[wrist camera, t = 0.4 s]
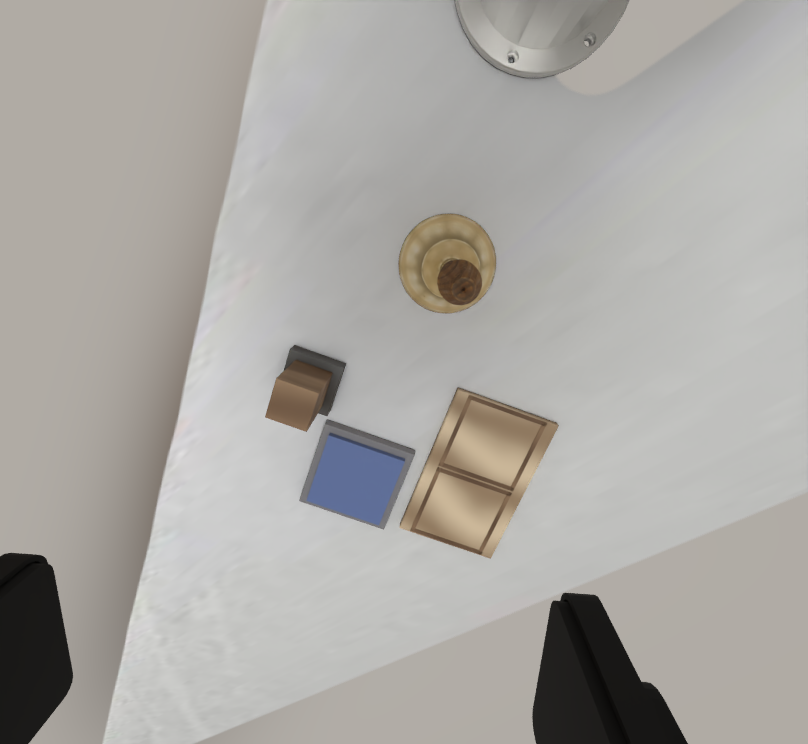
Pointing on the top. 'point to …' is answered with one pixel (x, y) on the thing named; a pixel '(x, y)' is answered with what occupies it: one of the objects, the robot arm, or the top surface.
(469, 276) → the hand bell
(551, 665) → the robot arm
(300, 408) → the stamp
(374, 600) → the top surface
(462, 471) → the board
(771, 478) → the top surface
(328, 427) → the ink pad
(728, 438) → the top surface
